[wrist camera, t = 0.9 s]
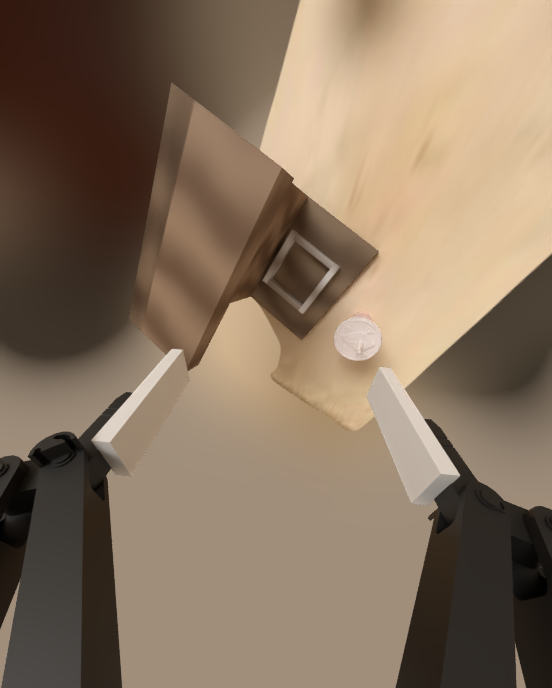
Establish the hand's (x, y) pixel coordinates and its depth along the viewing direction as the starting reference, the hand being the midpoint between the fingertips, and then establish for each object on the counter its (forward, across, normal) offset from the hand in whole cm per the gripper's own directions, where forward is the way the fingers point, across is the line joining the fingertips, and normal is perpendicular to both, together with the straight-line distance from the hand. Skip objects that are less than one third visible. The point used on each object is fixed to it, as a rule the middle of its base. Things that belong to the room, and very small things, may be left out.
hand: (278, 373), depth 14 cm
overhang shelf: (+29, +3, 0) cm, 29 cm away
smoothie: (+23, +14, -6) cm, 28 cm away
